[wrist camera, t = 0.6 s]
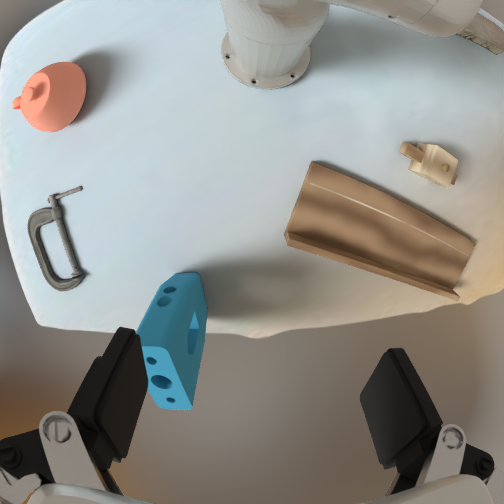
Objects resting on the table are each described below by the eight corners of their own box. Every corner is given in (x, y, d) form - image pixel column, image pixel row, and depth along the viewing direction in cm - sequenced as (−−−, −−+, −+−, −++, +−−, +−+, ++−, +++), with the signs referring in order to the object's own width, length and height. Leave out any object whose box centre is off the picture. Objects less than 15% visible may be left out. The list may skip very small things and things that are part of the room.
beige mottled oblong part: (494, 31, 23) (507, 28, 18) (502, 58, 26) (516, 57, 21) (418, -4, 24) (431, -13, 19) (427, 26, 27) (442, 20, 22)
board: (311, 161, 38) (318, 164, 34) (471, 241, 43) (484, 249, 39) (284, 234, 42) (287, 245, 38) (446, 290, 47) (457, 300, 43)
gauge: (401, 133, 36) (424, 134, 30) (449, 164, 37) (472, 171, 31) (392, 160, 37) (413, 165, 31) (441, 189, 39) (463, 198, 33)
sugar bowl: (90, 127, 35) (52, 128, 25) (34, 136, 34) (-3, 142, 25) (97, 58, 30) (63, 45, 21) (40, 75, 29) (4, 71, 20)
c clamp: (23, 199, 39) (15, 203, 37) (83, 184, 39) (74, 188, 37) (49, 288, 48) (42, 294, 45) (108, 288, 47) (102, 296, 45)
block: (210, 320, 49) (193, 410, 31) (184, 322, 49) (159, 408, 31) (197, 262, 44) (166, 346, 26) (169, 264, 44) (125, 345, 26)
